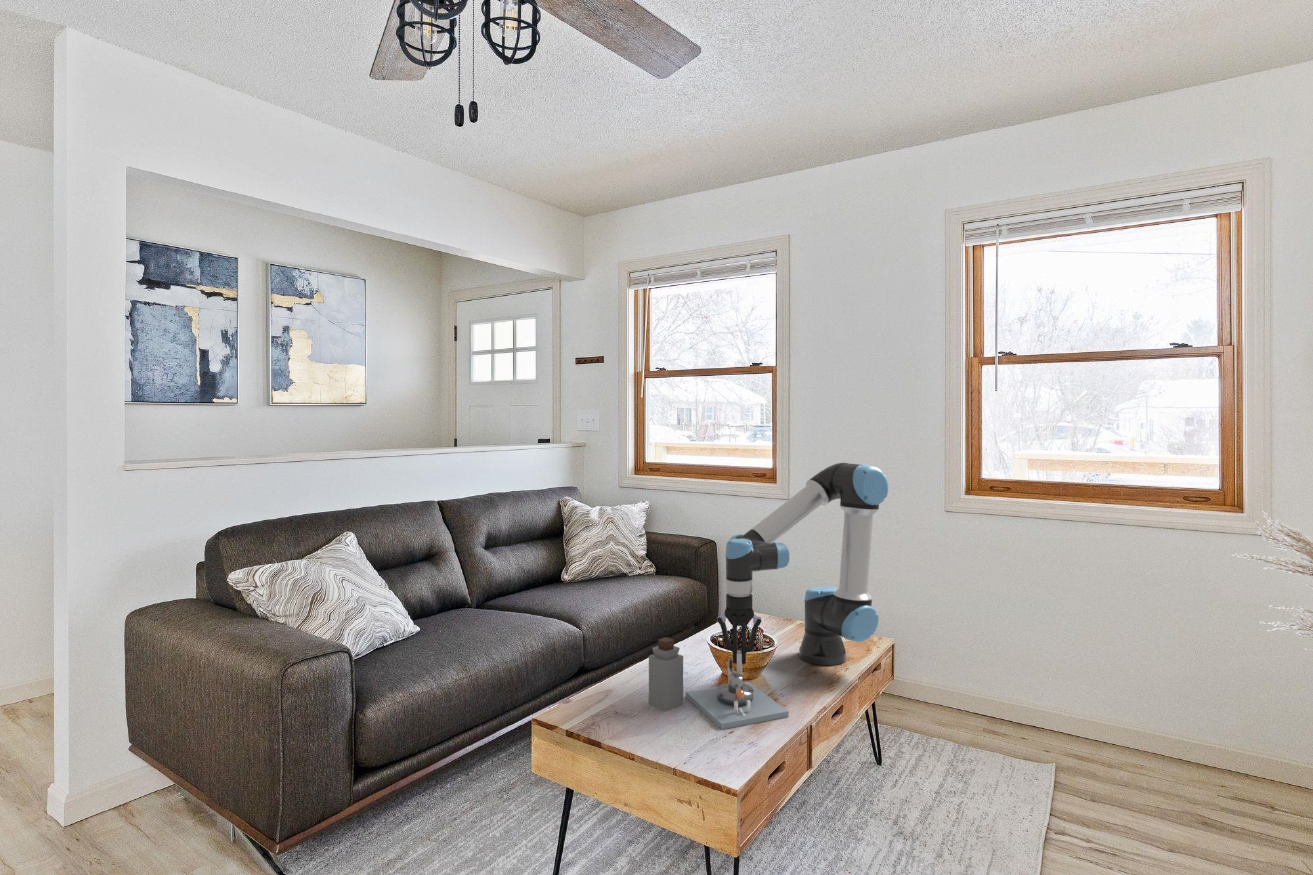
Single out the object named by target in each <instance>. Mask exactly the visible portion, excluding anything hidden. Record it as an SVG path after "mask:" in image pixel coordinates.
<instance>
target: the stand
mask: <svg viewBox="0 0 1313 875" xmlns="http://www.w3.org/2000/svg"><path fill="white" fill-rule="evenodd" d="M743 684H747V685H749V686H751V687H752V688H753V700H752V701H751V702H750V700H747V704H742V705H738V701H734V705H732V704H727V703H724V702H721V701H720V700H718V698H717V687H718V686H713V687H707V688H701V689H696V690H695V689H694V690H689V691H685V698H686V699H687V700H689V701H690V703H692V704H693V705H694V706H695V707H696V708H697V709H698V710H699V711H701V712H702V713H703V714H704V715H705V716H706V717H707V718H708V719H710V721H712V722H713V723H714V724H715V725H716V726H717V727H718V728H720V729H721V730H726V729H732V728H737V727H742V726H748V725H752V724H759V723H762V722H767V721H772V720H778V719H779V720H780V719H784V718H789V717H790V714H789V712H790V711H789V710H788V709H787V708H785V707H784V706H783V705H781V704H779V703H778V702H777V701H776V700H774V699H773V698H771V697H770V696H768V695H767V694H766V693H764V692H763V691H761V690H760V689H759V688H757V687H756V686H754V685H753V684H752V683H750V682H749V681H743Z"/></svg>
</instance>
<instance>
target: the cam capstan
mask: <svg viewBox="0 0 1313 875" xmlns="http://www.w3.org/2000/svg"><path fill="white" fill-rule="evenodd" d="M727 681H728V682H725V683H721V684H719V685H718V686H716V687H717V698H718V700H720V701H721V702H724V703H727V704H732V705H734V701H738V705H742V704H747V700H750V702H751V701H752V700H753V688H752V687H751V686H749V685H747V684H743V682H744V676H743V674H742V675H740V674H737V673H736V672H735V668H733V657H727Z"/></svg>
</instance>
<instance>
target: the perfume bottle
mask: <svg viewBox="0 0 1313 875" xmlns="http://www.w3.org/2000/svg"><path fill="white" fill-rule="evenodd" d="M651 649H652V652H653V654H650V655H648V704H649V705H651V706H652V707H653V706H654V707H656V708H657V709H660V710H663V711H665V712H667V711H670V710H672V709H674V708H676V707H679V706H681V705H683V704H684V655H682V654H679V652H680V647H679V646H676V645H675V639H674V638H670V637H667V636H666V637H662V638H659V639H657V645H656V646H654V647H652V648H651Z"/></svg>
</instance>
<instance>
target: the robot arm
mask: <svg viewBox="0 0 1313 875" xmlns="http://www.w3.org/2000/svg"><path fill="white" fill-rule="evenodd" d="M888 493H889V481H888V479H887V476H886V475H885V473H884V472H883V471H882V470H881V469H880V468H878V467H876V466H873V465H868V464H859V463H850V462H838V463H835V464H832V465H830V466H827V467H826V468H824V469H822V470H820V471H819V472H818V473H816V474H815V475H813V476H812V477H811V478H809V479H808V480H807V481H806V482H805V487H803V488H802V489H800V490H799V491H798V492H797V493H796V494H794V495H793V496H791V497H790V498H789V499H788V500H786V501H785V502H784V503H783V504H781V505H780V506H779V507H777V509H775V510H773V512H771V513H770V514H769V515H767V516H766V517H765V518H764V519H762V520H761V521H760V522H758V523H757V524H756V525H755V526H753V527H752V528H751V529H749V530H748V531H747V532H745V533H744V534H741V533H740V534H735V535H732V536H731V538H730V539H729V540H728V541H727V542H726V545H725V546H726V547H725V554H724V555H725V556H724V557H725V592H726V594H725V607H726V608H725V610H724V613H723V614H721V615H718V616H717V618H716V621H717V623H718V624H719V626H720V630H721V632H722V637H723V640H724V641H723V642H724V644H725V648H726V650H727V651H729V652H731V653H732V664H733V665H734V664H736V674H740V675H742V676H743V665H746V662H747V653H748V652H752V651H753V648H754V644H755V639H756V635H757V632H758V627H760V625H761V623H762V617H761V616H757V615H756V614H755V611H754V610H753V595H752V593H753V572H759V571H772V570H778V569H783V568H786V567H787V566H788V565H789V562H790V551H789V548H788V546H787V545H786V544H785V543H784V542H776V541H777V540H778V539H780V538H781V537H782V536H783V535H785V534H787V532H788V531H790V530H791V529H792V528H793V527H795V526H796V525H797V524H798V523H800V522H802V520H804V519H805V518H806V517H808V515H810V514H811V513H812V512H814V511H815V510H817V508H819V507H820V506H826V505H828V504H829V503H830V502H832V501H834V500H839V499H840V501H839V502H840V503H839V507H840V508H841V509H842V510H843V513H844V515H843V528H842V542H841V543H842V545H841V553H840V554H841V556H840V568H839V570H840V571H839V584H838V587H835V586H816V587H811V588H808V589H807V590H806V591H805V593H804V601H803V602H804V634H803V637H802V639H801V643H800V647H799V649H798V656H799V658H800V659H801V660H803V661H804V662H806V663H810V664H813V665H819V666H836V665H840V664H841V665H842V664H843V663H845V662H846V661H847V650H846V648H845V644H844V641H843V638H844V639H846V640H848V641H853V642H856V643H862V642H865V641H867V640H869V639H870V638H871V636H873V635H874V634H875V632H876V631H877V629H878V625H879V620H880V618H879V614H878V613H877V610H876V609H875V608H874V607H872V602H873V597H872V596H871V594H870V593H869V592H868V588H869V576H870V575H869V574H870V564H871V563H870V562H871V548H872V535H873V523H874V522H873V521H874V514H876V513H877V512H878V511H879V509H880V504H882V503H883V502H884V501H885V499H886V498H888ZM726 620H727V621H728V622H729V624H730V625H732V643H731V641H730V635H729V632H728V627H727V624H726V622H727V621H726ZM751 621H752V623H753V625H752V628H751V634H750V637H749V641H748V645H747V625H749V623H750V622H751ZM738 627H740V629H741V630H740V631H741V633H740V634H741V635H740V636H741V637H740V638H741V640H740V641H741V644H740V645H741V650H738Z"/></svg>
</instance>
